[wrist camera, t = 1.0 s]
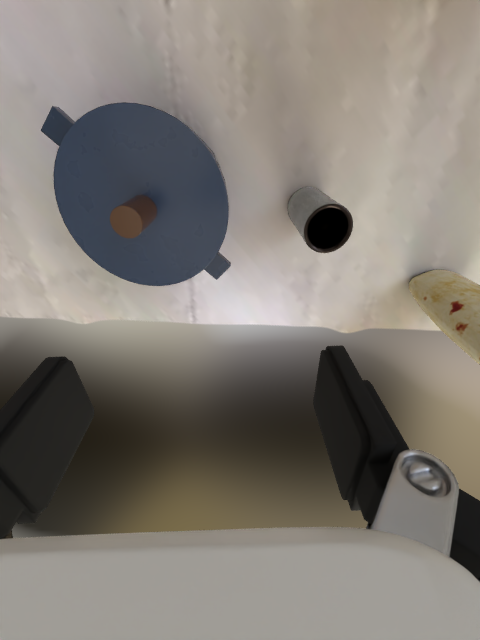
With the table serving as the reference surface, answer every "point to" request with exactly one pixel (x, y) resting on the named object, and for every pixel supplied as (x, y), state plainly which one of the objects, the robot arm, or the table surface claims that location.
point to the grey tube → (320, 220)
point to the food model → (451, 306)
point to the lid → (141, 194)
